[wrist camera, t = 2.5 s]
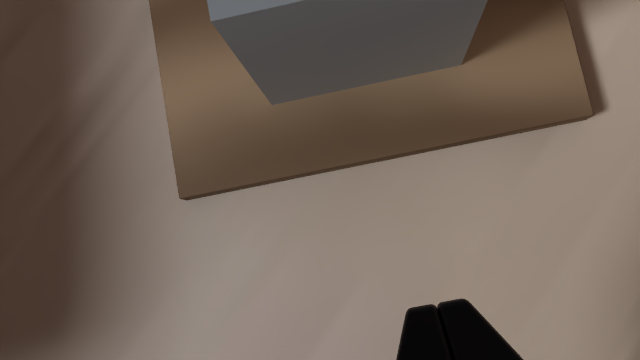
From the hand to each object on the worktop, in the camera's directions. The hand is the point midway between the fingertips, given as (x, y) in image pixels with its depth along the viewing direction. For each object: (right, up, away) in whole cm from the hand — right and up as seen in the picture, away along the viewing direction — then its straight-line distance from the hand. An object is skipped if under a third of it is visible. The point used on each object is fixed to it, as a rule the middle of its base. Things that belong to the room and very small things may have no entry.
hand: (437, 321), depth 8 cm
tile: (0, +6, +13) cm, 15 cm away
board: (-1, +9, +15) cm, 17 cm away
